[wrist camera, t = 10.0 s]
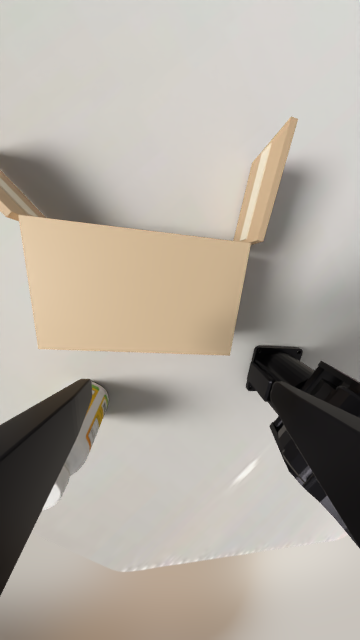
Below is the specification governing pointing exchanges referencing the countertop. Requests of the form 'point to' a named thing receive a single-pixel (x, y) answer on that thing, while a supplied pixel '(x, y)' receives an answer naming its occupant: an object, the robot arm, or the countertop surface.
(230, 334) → the carton
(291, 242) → the countertop surface
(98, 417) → the supplement bottle
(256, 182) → the right flap
